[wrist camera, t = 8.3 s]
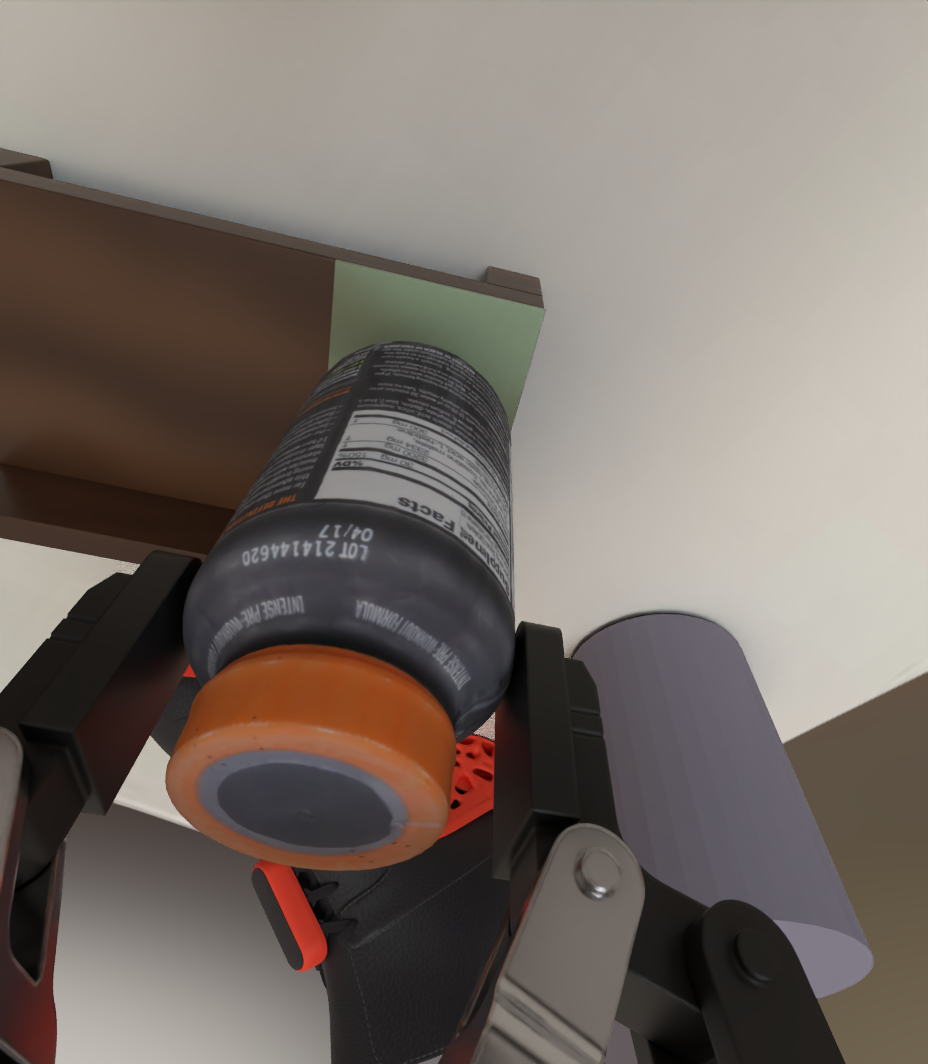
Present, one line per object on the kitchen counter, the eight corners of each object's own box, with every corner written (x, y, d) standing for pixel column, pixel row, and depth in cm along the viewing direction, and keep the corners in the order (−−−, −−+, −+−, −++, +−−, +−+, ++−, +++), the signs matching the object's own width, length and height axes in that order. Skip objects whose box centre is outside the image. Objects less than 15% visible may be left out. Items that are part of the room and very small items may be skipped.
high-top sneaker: (593, 767, 41) (645, 1168, 26) (498, 832, 48) (494, 1181, 33) (185, 595, 33) (-98, 1031, 18) (139, 702, 40) (-95, 1087, 24)
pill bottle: (362, 534, 19) (236, 917, 10) (272, 373, 16) (-31, 729, 7) (534, 491, 18) (563, 894, 9) (474, 303, 14) (420, 641, 6)
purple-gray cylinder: (638, 583, 31) (722, 893, 19) (782, 651, 33) (937, 963, 21) (534, 686, 36) (548, 974, 24) (663, 738, 39) (733, 1022, 27)
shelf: (-10, 145, 20) (-208, 162, 15) (539, 277, 22) (551, 339, 16) (63, 441, 27) (-50, 528, 22) (472, 524, 29) (464, 626, 23)
